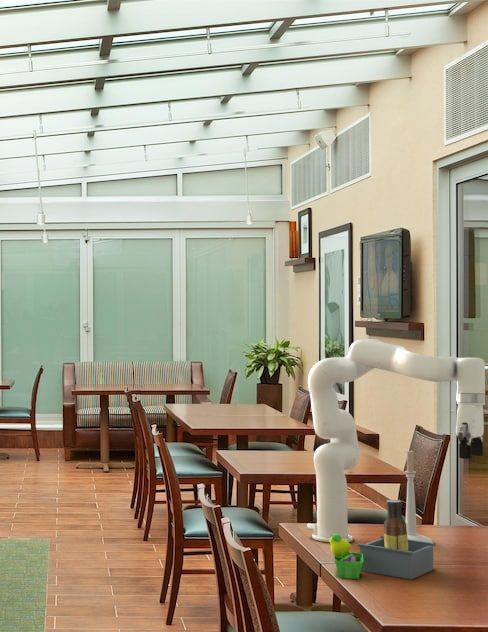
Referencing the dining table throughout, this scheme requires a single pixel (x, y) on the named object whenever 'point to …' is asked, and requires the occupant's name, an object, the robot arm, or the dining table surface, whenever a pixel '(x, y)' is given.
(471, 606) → the dining table surface
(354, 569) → the fruit basket
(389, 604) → the dining table surface
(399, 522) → the sauce bottle
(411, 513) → the candlestick
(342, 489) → the robot arm
